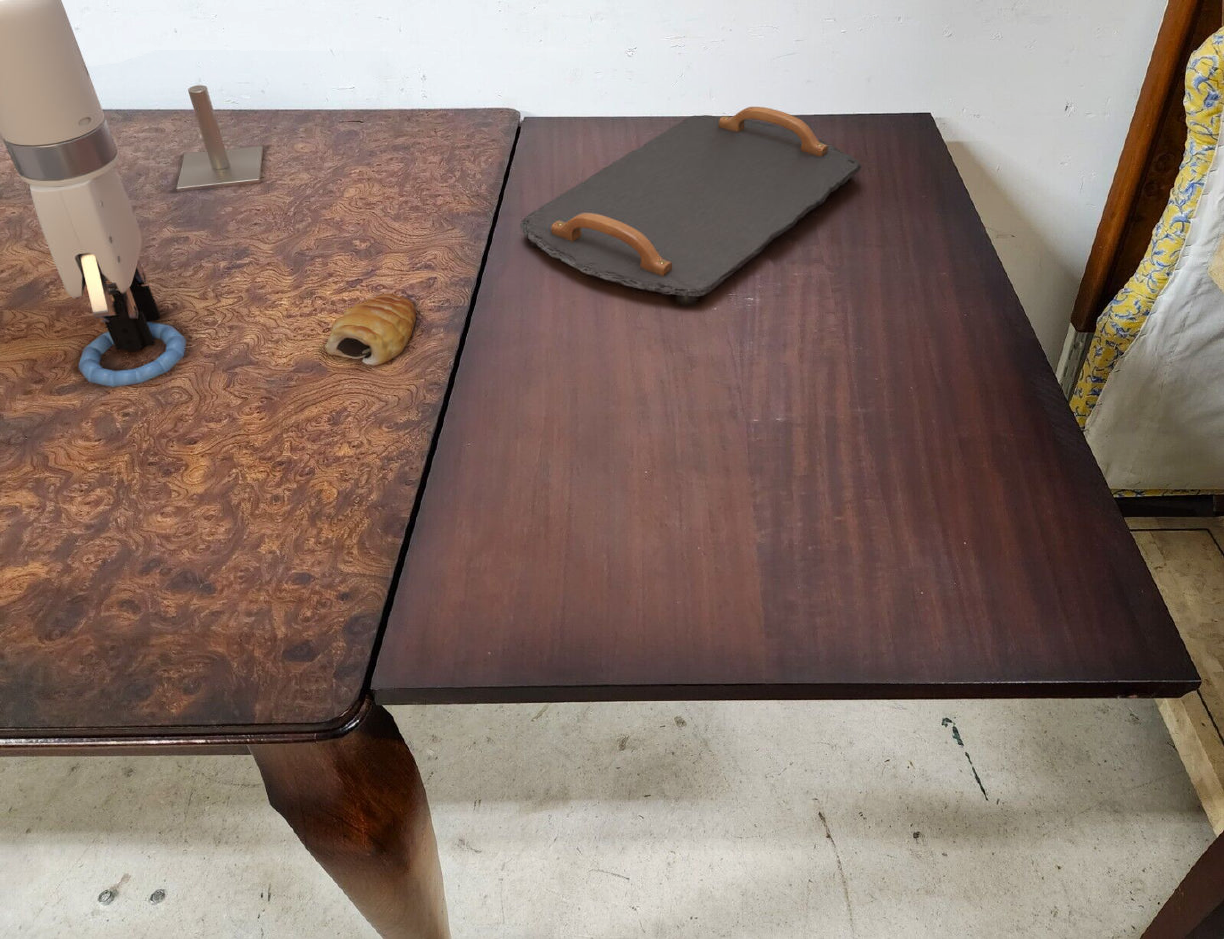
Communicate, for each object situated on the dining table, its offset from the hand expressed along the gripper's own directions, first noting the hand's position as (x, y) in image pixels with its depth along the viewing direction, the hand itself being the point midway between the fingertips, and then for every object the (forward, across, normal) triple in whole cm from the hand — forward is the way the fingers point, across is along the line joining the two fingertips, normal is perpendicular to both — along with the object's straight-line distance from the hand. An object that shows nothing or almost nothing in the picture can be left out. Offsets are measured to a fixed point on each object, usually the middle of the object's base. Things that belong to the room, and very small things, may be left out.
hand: (141, 337), depth 90 cm
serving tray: (0, -10, +56) cm, 57 cm away
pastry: (0, +6, +21) cm, 22 cm away
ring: (-1, +4, 0) cm, 4 cm away
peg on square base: (0, -32, +5) cm, 33 cm away
